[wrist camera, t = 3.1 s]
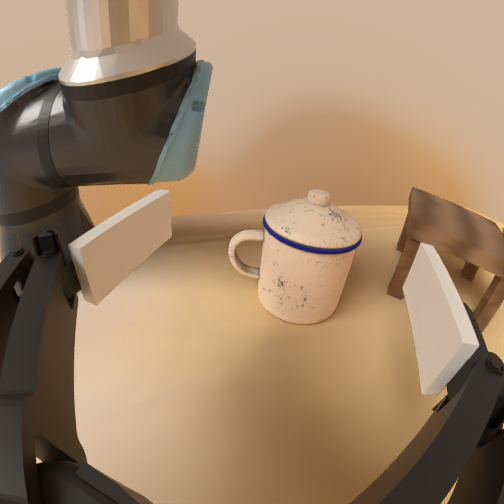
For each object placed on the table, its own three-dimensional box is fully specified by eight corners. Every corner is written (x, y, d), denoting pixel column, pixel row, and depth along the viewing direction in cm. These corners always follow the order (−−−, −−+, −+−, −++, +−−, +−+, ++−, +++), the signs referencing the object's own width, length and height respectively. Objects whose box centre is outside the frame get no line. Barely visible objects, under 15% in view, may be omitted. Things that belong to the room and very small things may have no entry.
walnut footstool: (382, 294, 30) (412, 219, 25) (394, 242, 42) (412, 186, 36) (485, 336, 23) (524, 270, 18) (472, 274, 35) (495, 222, 30)
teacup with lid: (329, 273, 33) (352, 182, 27) (347, 328, 25) (387, 221, 19) (230, 266, 33) (235, 169, 26) (222, 323, 25) (226, 204, 19)
